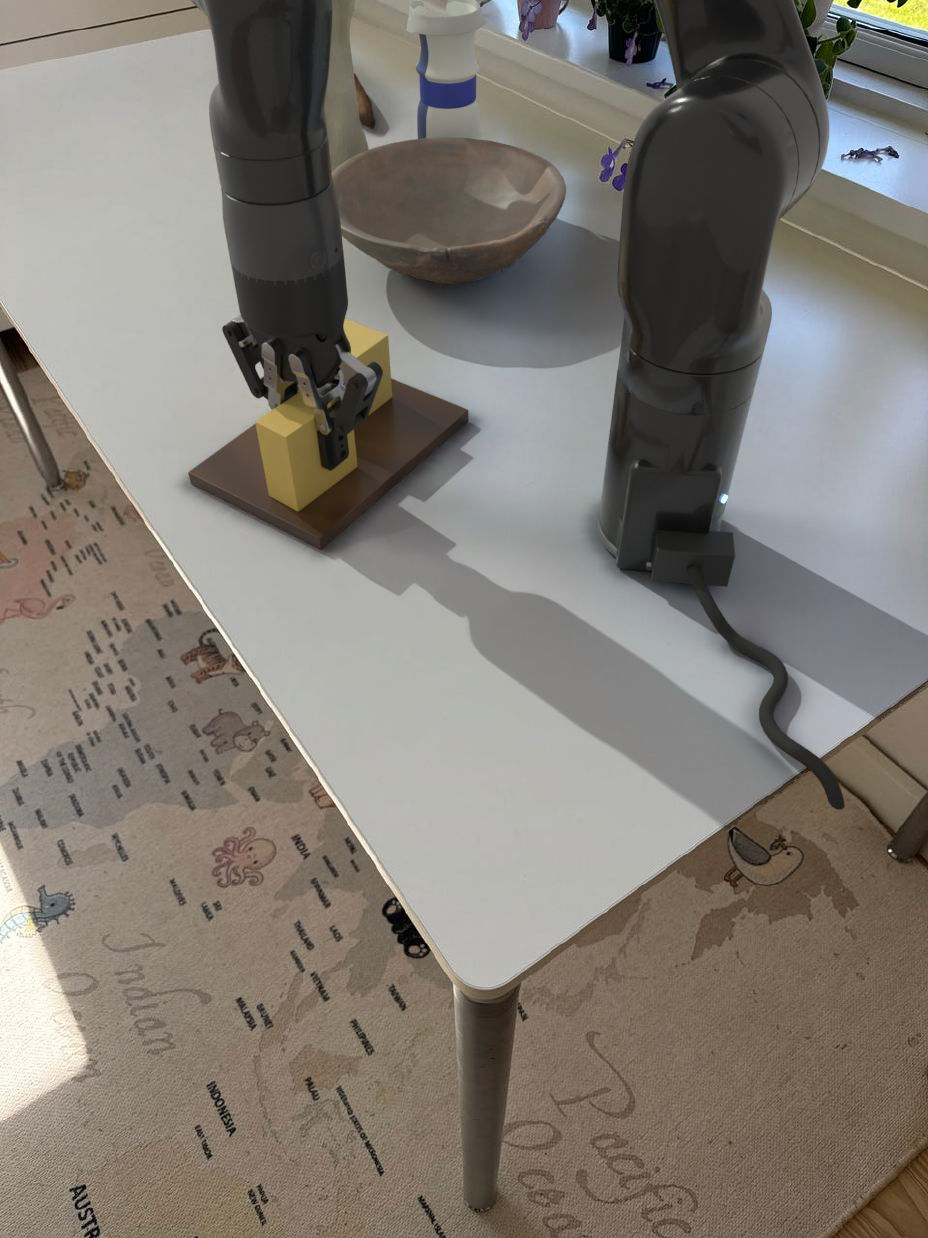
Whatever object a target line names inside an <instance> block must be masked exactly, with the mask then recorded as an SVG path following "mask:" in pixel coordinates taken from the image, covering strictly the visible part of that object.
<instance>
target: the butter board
mask: <svg viewBox="0 0 928 1238" xmlns="http://www.w3.org/2000/svg"><path fill="white" fill-rule="evenodd" d="M391 386H392V398H390V399H389V400H388V401H387V402H385V403H384V404H383V405H381V406H380V407H379V408H378V409H376V410H375V411H374V412H372V413H371V414H370V415H369V416H368V417H367V419H366V420H365V421H364V422H362V423H361V424H360V425H359V426H357V427H356V428H355V429H354V437H355V446H356V456H357V466H358V467H357V468H355V469H354V470H353V471H351V472H350V473H349V474H348V475H346V476H345V477H344V478H342V479H341V480H340V481H338V482H337V483H336V484H334V485H333V486H332V487H330V488H329V489H328V490H326V491H325V492H324V493H322V494H321V495H320V496H318V497H317V498H316V499H315V500H313V501H312V502H311V503H309V504H308V505H307V506H305V507H304V508H303V509H301V510H300V511H299V512H298V511H296V510H294V509H292V508H290V507H288V506H287V505H285V504H283V503H281V502H279V501H278V500H276V499H274V498H272V497H270V496H269V492H268V487H267V482H266V476H265V471H264V466H263V460H262V455H261V450H260V445H259V439H258V434H257V429H256V423H255V422H254V424H253V425H251V426H250V427H249V428H247V429H246V430H244V431H243V432H241V433H240V434H239V435H237V436H236V437H234V438H233V439H231V441H229V442H228V443H226V444H225V445H223V446H221V448H220V449H218V450H217V451H215V452H214V453H212V454H211V455H209V456H208V457H207V458H206V459H204V460H203V461H201V462H200V463H199V464H198V465H196V466H194V467H193V468H192V469H191V470H189V471H188V472H187V474H188V477H189V481H190V484H191V485H194V486H195V487H198V488H199V489H201V490H203V491H205V492H207V493H209V494H211V495H213V496H214V497H216V498H219V499H220V500H223V501H224V502H227V503H229V504H230V505H232V506H234V507H237V508H238V509H240V510H242V511H244V512H246V513H248V514H250V515H252V516H254V517H256V518H257V519H260V520H262V521H264V522H265V523H268V524H269V525H272V526H274V527H276V528H278V529H279V530H282V531H283V532H285V533H287V534H289V535H291V536H293V537H295V538H298V539H299V540H301V541H303V542H305V543H307V544H309V545H311V546H313V547H315V548H317V549H319V550H322V549H323V548H325V547H326V546H327V545H328V544H330V543H331V542H332V541H333V540H334V539H335V538H336V537H337V536H338V535H339V534H341V533H342V532H343V531H344V530H345V529H347V528H348V527H349V526H350V525H351V524H352V523H353V522H354V521H356V520H357V519H358V518H359V517H360V516H361V515H363V514H364V513H365V512H366V511H367V510H368V509H369V508H371V507H372V506H373V505H374V504H375V503H376V502H377V501H379V500H380V499H381V498H382V497H383V496H384V495H385V494H387V493H388V492H389V491H391V489H392V488H393V487H395V486H396V485H397V484H398V483H399V482H400V481H401V480H402V479H404V478H405V477H406V476H407V475H409V474H410V473H411V472H412V471H413V470H414V469H415V468H417V466H419V465H420V464H421V463H422V462H423V461H424V460H425V459H427V458H428V457H429V456H430V455H431V454H432V453H434V452H435V451H436V450H437V449H438V448H440V447H441V445H442V444H444V443H445V442H446V441H447V440H448V439H449V438H451V437H452V436H453V435H454V434H455V433H456V432H458V431H459V430H460V429H461V428H462V427H463V426H465V425H466V424H467V423H468V422H469V409H467V408H464V407H463V406H460V405H457V404H455V403H452V402H451V401H448V400H445V399H443V398H440V397H438V396H435V395H433V394H430V393H428V392H426V391H424V390H421V389H419V388H416V387H413V386H411V385H409V384H406V383H404V382H401V381H398V380H396V379H394V378H392V377H391Z"/></svg>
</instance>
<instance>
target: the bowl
mask: <svg viewBox="0 0 928 1238" xmlns="http://www.w3.org/2000/svg"><path fill="white" fill-rule="evenodd" d="M332 179H333V186H334V190H335V194H336V198H337V203H338V207H339V214H340V222H341V232H342V238H344V239H345V240H346V241H347V242H348V243H350V244H351V245H352V246H354V247H355V248H357V249H358V250H359V251H361V252H362V253H364V254H365V255H367V256H368V257H370V258H372V259H374V260H375V261H377V262H378V263H380V264H381V265H383V266H384V267H386V268H387V269H390V270H392V271H394V272H397V273H400V274H403V275H406V276H410V277H414V278H416V279H417V280H424V281H429V282H433V283H436V284H446V285H447V284H448V285H449V284H450V285H459V284H460V285H461V284H466V283H470V282H473V281H479V280H482V279H484V278H487V277H489V276H492V275H494V274H496V273H498V272H501V273H502V272H503V271H504V270H505V269H508V268H510V267H511V266H513V265H514V264H515V263H516V262H517V261H518V260H519V259H520V258H522V256H524V255H525V254H526V253H527V252H528V251H529V250H530V249H531V248H533V247H534V246H535V245H536V244H537V243H538V242H539V241H540V240H541V239H542V238H543V237H544V235H545V234H547V232H548V230H549V229H550V227H551V226H552V224H553V223H554V222H555V220H556V218H557V217H558V215H559V213H560V212H561V210H562V208H563V205H564V203H565V200H566V196H567V185H566V182H565V180H564V177H563V175H562V174H561V172H560V170H559V169H558V168H557V167H556V166H555V165H554V164H552V163H551V162H550V161H548V160H547V159H545V158H543V157H542V156H540V155H537V154H536V153H533V152H531V151H528V150H526V149H523V148H520V147H518V146H514V145H510V144H507V143H503V142H498V141H494V140H490V139H489V140H487V139H480V140H478V139H471V138H451V137H439V138H422V139H418V138H415V139H414V138H413V139H407V140H401V141H397V142H391V143H387V144H384V145H383V144H382V145H379V146H376V147H373V148H369V150H366V151H364V152H362V153H360V154H357V155H356V156H354V157H352V158H350V159H348V160H347V161H345V162H344V163H342V164H341V165H340V166H338V167H337V168H336V169H335V170H334V171H333V172H332Z"/></svg>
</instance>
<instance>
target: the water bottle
mask: <svg viewBox="0 0 928 1238" xmlns="http://www.w3.org/2000/svg"><path fill="white" fill-rule="evenodd" d="M485 25H487V22H486V19H485V16H484V13H483V11H482V7H481V5H480V3H479V2H478V1H477V0H447V3H446V6H445V11H444V16H435V15H429V14H428V11H427V8H426V7H425V4H424V2H422V1H421V0H413V1H411V3H410V5H409V12H408V19H407V25H406V33H410V34H417V35H418V36H419V42H420V55H419V59H418V61H417V63H416V65H415V71H416V72H417V74H418V76H419V101H418V104H417V112H416V113H417V114H416V115H417V116H416V122H417V123H416V124H417V125H416V128H417V139H422V138H439V137H451V138H471V139H478V140H481V111H480V110H481V109H480V105H479V101H478V99H477V74H478V73H479V71H480V70H481V65H480V63H479V61H478V60H477V57H476V53H475V36H476V31H477V30H479V29H481V28H483V27H484V26H485Z"/></svg>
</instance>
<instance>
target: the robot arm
mask: <svg viewBox="0 0 928 1238" xmlns="http://www.w3.org/2000/svg"><path fill="white" fill-rule="evenodd" d="M189 1H190V2H191V3H192V4H193V5H194V6H195V7H196V8H197V9H198V10H200V12H202V13H203V14H204V15H205V16H206V17H207V20H208V24H209V27H210V31H211V36H212V41H213V48H214V54H215V55H214V56H215V64H216V71H217V72H216V73H217V81H218V84H216V86H215V87H214V89H213V90H212V92H211V94H210V98H209V102H208V115H209V125H210V133H211V140H212V145H213V146H212V147H213V151H214V152H213V153H214V157H215V163H216V169H217V173H218V178H219V179H218V180H219V185H220V191H221V203H222V205H221V206H222V220H223V228H224V234H225V239H226V244H227V250H228V251H227V252H228V255H229V260H230V265H231V270H232V276H233V283H234V288H235V293H236V298H237V299H236V300H237V305H238V310H239V314H240V315H238V316H236V317H234V318H233V319H231V320H230V321H229V322H227V323H226V324H224V325H223V326H222V329H221V331H222V334H223V336H224V338H225V340H226V342H227V344H228V346H229V348H230V351H231V353H232V355H233V357H234V359H235V362H236V363H237V365H238V368H239V369H240V372H241V374H242V376H243V378H244V380H245V382H246V384H247V386H248V389H249V391H250V393H251V395H252V396H253V397H254V398H256V399H258V400H259V399H261V398H264V399H265V400H267V403H268V407H269V408H270V411H272V410H273V409H275V408H276V407H278V406H279V405H281V404H282V403H284V402H285V401H287V400H288V399H290V398H291V397H293V396H294V395H296V394H297V393H299V392H300V391H301V393H302V397H303V400H304V403H305V405H306V406H307V407H311V408H312V412H313V415H314V418H315V422H316V425H317V428H318V431H317V437H318V444H319V452H320V459H321V466H322V467H323V468H325V469H327V470H329V471H332V470H333V469H334V468H336V467H337V466H338V465H339V464H341V463H342V462H343V461H344V460H345V459H346V458H348V455H349V448H348V437H347V434H348V433H350V432H351V431H352V430H353V429H355V428H356V427H357V426H359V425H360V424H361V423H362V422H364V421H365V420H366V419H367V417H368V415H369V412H370V409H371V406H372V403H373V401H374V398H375V395H376V392H377V390H378V387H379V384H380V381H381V378H382V376H383V370H382V368H381V366H380V365H379V364H378V363H376V362H371V363H370V364H369V365H367V366H365V365H364V364H363V363H362V362H360V361H359V360H358V359H357V358H356V357H354V356H353V355H352V354H351V346H350V343H349V341H348V339H347V337H346V334H345V332H344V327H343V326H344V320H345V319H346V315H347V312H348V309H349V295H348V286H347V275H346V274H347V273H346V267H345V265H346V263H345V255H344V254H345V253H344V245H343V236H342V232H341V222H340V214H339V207H338V203H337V198H336V194H335V190H334V186H333V179H332V172H331V162H330V151H329V141H328V131H327V123H326V117H325V111H324V104H325V96H326V90H327V84H328V76H329V62H330V49H331V36H332V0H189ZM653 1H654V4H655V7H656V10H657V13H658V16H659V20H660V23H661V27H662V30H663V34H664V37H665V41H666V45H667V49H668V53H669V58H670V62H671V66H672V71H673V75H674V80H675V86H676V90H675V91H674V92H673V93H671V94H670V95H668V96H667V97H665V98H664V99H663V100H662V101H660V102H659V103H658V104H656V105H655V107H654V108H653V109H652V110H651V111H650V112H649V113H648V114H647V116H646V117H645V118H644V120H643V121H642V123H641V124H640V127H639V128H638V130H637V132H636V134H635V136H634V140H633V142H632V146H631V150H630V152H629V153H630V154H629V157H628V160H627V165H626V171H625V176H624V177H625V178H624V185H623V194H622V207H621V217H620V218H621V220H620V232H619V247H618V259H617V278H616V279H617V281H616V283H617V292H618V297H619V301H620V304H621V307H622V311H623V314H624V317H623V323H622V324H623V325H622V333H621V340H620V348H619V350H620V351H619V357H618V365H617V372H616V379H615V386H614V395H613V402H612V409H611V410H612V411H611V418H610V426H609V435H608V441H607V449H606V458H605V464H604V466H605V467H604V473H603V481H602V489H601V490H602V491H601V499H600V507H599V509H598V512H597V520H596V530H597V531H596V533H597V535H598V538H599V540H600V542H601V543H602V545H603V546H604V548H605V549H606V550H607V551H608V552H609V553H610V554H611V555H613V556H614V557H615V560H616V562H615V563H616V567H617V568H619V569H625V570H638V571H650V573H651V574H650V575H651V579H650V580H651V581H652V582H661V583H674V584H686V585H687V584H688V585H691V586H692V587H693V589H694V592H695V595H696V596H697V599H698V601H699V603H700V605H701V607H702V610H704V612H705V614H706V616H707V617H708V619H709V621H710V622H711V624H712V625H713V627H714V628H715V629H716V631H717V633H719V635H720V636H721V637H722V638H723V639H724V640H725V641H726V642H727V643H728V644H729V645H730V646H731V647H733V648H734V649H736V650H737V651H739V652H740V653H742V654H744V655H746V656H747V657H749V658H752V659H754V660H756V661H758V662H759V663H761V664H763V665H764V666H766V667H767V668H768V669H769V671H770V672H771V674H772V676H773V682H772V684H771V686H770V687H769V688H768V690H767V692H766V693H765V695H764V697H763V698H762V700H761V702H760V704H759V708H758V720H759V723H760V724H759V725H760V726H761V728H762V731H763V733H764V735H766V737H767V738H768V740H770V741H771V742H772V743H773V744H774V746H776V747H777V748H778V749H780V750H781V751H783V752H784V753H786V754H787V755H788V756H790V757H791V758H793V759H794V760H796V761H797V762H799V763H800V764H801V765H803V766H804V767H806V768H807V769H808V770H809V771H810V772H812V774H813V775H814V776H815V777H816V778H817V779H818V781H819V782H820V784H821V786H822V788H823V790H824V793H825V795H826V799H827V802H828V803H829V805H830V806H831V808H833V809H835V810H837V811H838V810H839V811H841V810H843V809H845V807H846V805H845V799H844V796H843V795H844V794H843V791H842V788H841V786H840V784H839V782H838V779H837V778H836V775H835V774H834V772H833V771H832V770H831V769H830V767H829V766H828V765H827V764H826V762H824V761H823V760H822V759H821V758H820V757H818V756H817V755H816V754H815V753H813V752H812V751H811V750H809V749H808V748H806V746H803V745H801V744H800V743H798V742H797V741H796V740H794V739H793V738H792V737H790V736H788V735H787V734H786V733H785V731H783V730H782V729H781V728H780V727H779V725H778V724H777V721H776V719H775V716H774V713H775V710H776V707H777V705H778V704H779V702H780V701H781V699H782V697H783V696H784V694H785V692H786V690H787V688H788V683H789V675H788V674H789V673H788V671H787V668H786V666H785V664H784V662H783V661H782V660H781V659H780V658H779V657H778V656H777V655H775V654H774V653H773V652H772V651H769V650H768V649H766V648H764V647H762V646H760V645H757V644H756V643H753V642H751V641H750V640H748V639H746V638H745V637H743V636H742V635H740V633H738V631H736V629H734V628H733V627H732V626H731V624H730V623H729V622H728V620H727V619H726V617H725V616H724V615H723V613H722V611H721V610H720V608H719V606H718V605H717V603H716V601H715V599H714V597H713V595H712V593H711V591H710V589H709V587H708V586H711V587H712V586H713V587H723V588H727V587H728V585H729V580H730V577H731V574H732V570H733V567H734V563H735V560H736V551H735V550H736V549H735V540H734V539H735V538H734V532H731V531H721V525H722V521H723V519H724V513H725V510H726V506H727V500H728V498H729V493H730V488H731V485H732V481H733V477H734V474H735V470H736V469H735V468H736V465H737V461H738V456H739V452H740V448H741V444H742V441H743V437H744V432H745V429H746V426H747V425H746V424H747V420H748V416H749V413H750V409H751V405H752V404H751V403H752V401H753V396H754V392H755V388H756V385H757V381H758V377H759V373H760V369H761V365H762V360H763V356H764V353H765V348H766V344H767V341H768V337H769V333H770V328H771V324H772V317H773V308H772V304H771V300H770V298H769V295H768V294H767V293H766V292H765V290H764V289H763V287H764V282H765V277H766V272H767V267H768V263H769V257H770V254H771V249H772V244H773V240H774V235H775V231H776V228H777V225H778V222H779V221H780V220H781V219H782V218H783V217H784V216H785V215H786V214H787V213H788V212H790V210H792V208H793V207H794V206H795V205H796V204H797V203H798V202H800V200H801V199H802V198H803V197H804V196H805V195H806V194H807V193H808V191H809V190H810V189H811V188H812V186H813V185H814V183H815V182H816V181H817V178H818V176H819V175H820V173H821V171H822V168H823V166H824V164H825V161H826V157H827V152H828V146H829V141H830V115H829V109H828V104H827V100H826V96H825V92H824V88H823V85H822V81H821V78H820V75H819V72H818V69H817V65H816V63H815V60H814V57H813V54H812V51H811V48H810V45H809V42H808V40H807V36H806V34H805V31H804V28H803V25H802V21H801V19H800V16H799V12H798V10H797V7H796V4H795V1H794V0H653ZM257 364H260V365H261V367H262V369H263V376H262V377H260V375H259V373H258V371H257V368H256V367H257V366H256V365H257ZM329 402H331V406H332V409H333V410H332V411H331V412H328V408H327V406H328V403H329Z"/></svg>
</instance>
